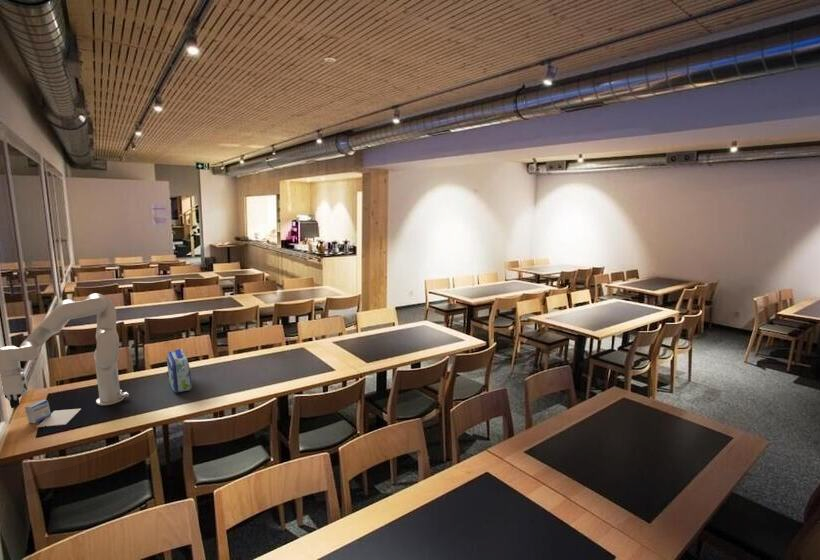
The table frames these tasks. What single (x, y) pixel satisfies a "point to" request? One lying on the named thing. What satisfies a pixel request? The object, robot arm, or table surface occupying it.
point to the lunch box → (178, 371)
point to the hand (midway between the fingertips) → (15, 406)
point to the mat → (59, 417)
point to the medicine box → (38, 411)
